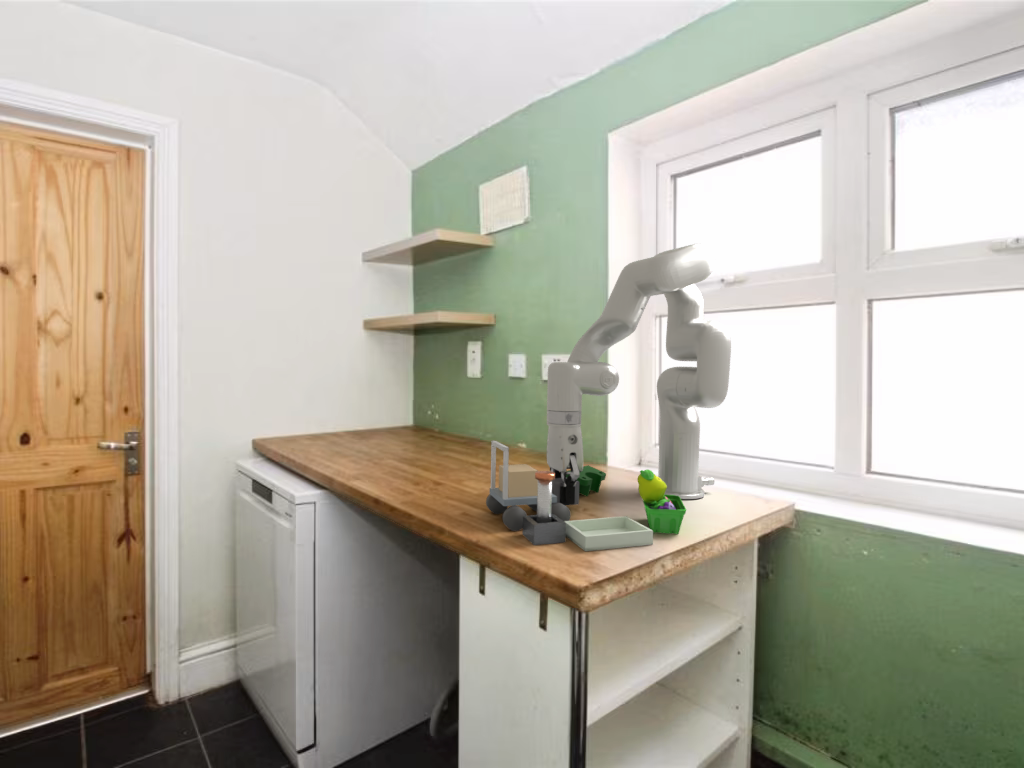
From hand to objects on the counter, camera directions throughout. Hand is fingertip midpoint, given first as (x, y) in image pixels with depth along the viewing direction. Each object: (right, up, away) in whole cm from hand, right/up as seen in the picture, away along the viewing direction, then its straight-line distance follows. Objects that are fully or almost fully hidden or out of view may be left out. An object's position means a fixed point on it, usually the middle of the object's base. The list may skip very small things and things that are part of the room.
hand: (562, 500), depth 116 cm
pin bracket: (-5, -2, -20) cm, 21 cm away
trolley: (-8, -2, -8) cm, 12 cm away
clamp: (+7, -2, +15) cm, 17 cm away
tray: (+6, -3, -20) cm, 21 cm away
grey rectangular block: (0, 0, 0) cm, 0 cm away
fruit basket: (+18, -3, -11) cm, 22 cm away
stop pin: (-5, -2, -20) cm, 21 cm away
